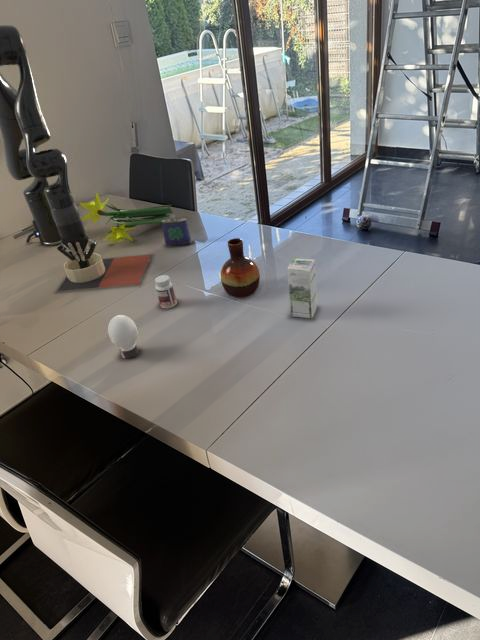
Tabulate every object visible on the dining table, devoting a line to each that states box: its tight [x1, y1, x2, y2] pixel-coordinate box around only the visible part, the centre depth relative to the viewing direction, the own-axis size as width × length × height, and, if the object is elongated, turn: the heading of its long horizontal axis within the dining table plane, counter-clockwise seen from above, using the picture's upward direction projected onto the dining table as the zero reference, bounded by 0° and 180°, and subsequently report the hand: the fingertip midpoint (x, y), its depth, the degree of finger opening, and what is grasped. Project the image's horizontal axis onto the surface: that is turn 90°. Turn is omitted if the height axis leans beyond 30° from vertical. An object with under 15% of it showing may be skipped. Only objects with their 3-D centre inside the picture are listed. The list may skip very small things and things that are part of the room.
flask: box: [160, 214, 193, 248], centre depth 164 cm, size 9×3×11 cm, turn 88°
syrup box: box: [286, 258, 318, 320], centre depth 120 cm, size 6×6×14 cm
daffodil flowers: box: [79, 191, 173, 245], centre depth 173 cm, size 17×15×35 cm
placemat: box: [57, 254, 152, 292], centre depth 155 cm, size 26×20×1 cm
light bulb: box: [107, 314, 139, 359], centre depth 115 cm, size 7×7×11 cm
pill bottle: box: [154, 274, 178, 309], centre depth 133 cm, size 5×5×8 cm
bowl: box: [63, 252, 105, 283], centre depth 154 cm, size 12×12×4 cm
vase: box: [219, 237, 261, 299], centre depth 132 cm, size 11×11×15 cm
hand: (86, 270), depth 155 cm, fingers closed
